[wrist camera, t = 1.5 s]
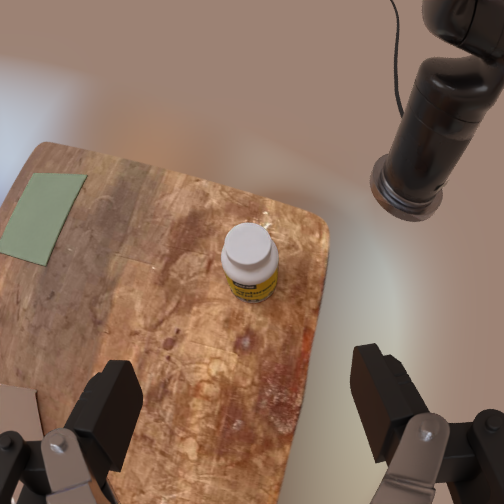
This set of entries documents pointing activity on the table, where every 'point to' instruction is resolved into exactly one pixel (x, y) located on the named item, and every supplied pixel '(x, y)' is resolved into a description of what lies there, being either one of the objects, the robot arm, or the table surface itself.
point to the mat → (40, 216)
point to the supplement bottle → (250, 262)
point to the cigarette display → (19, 418)
